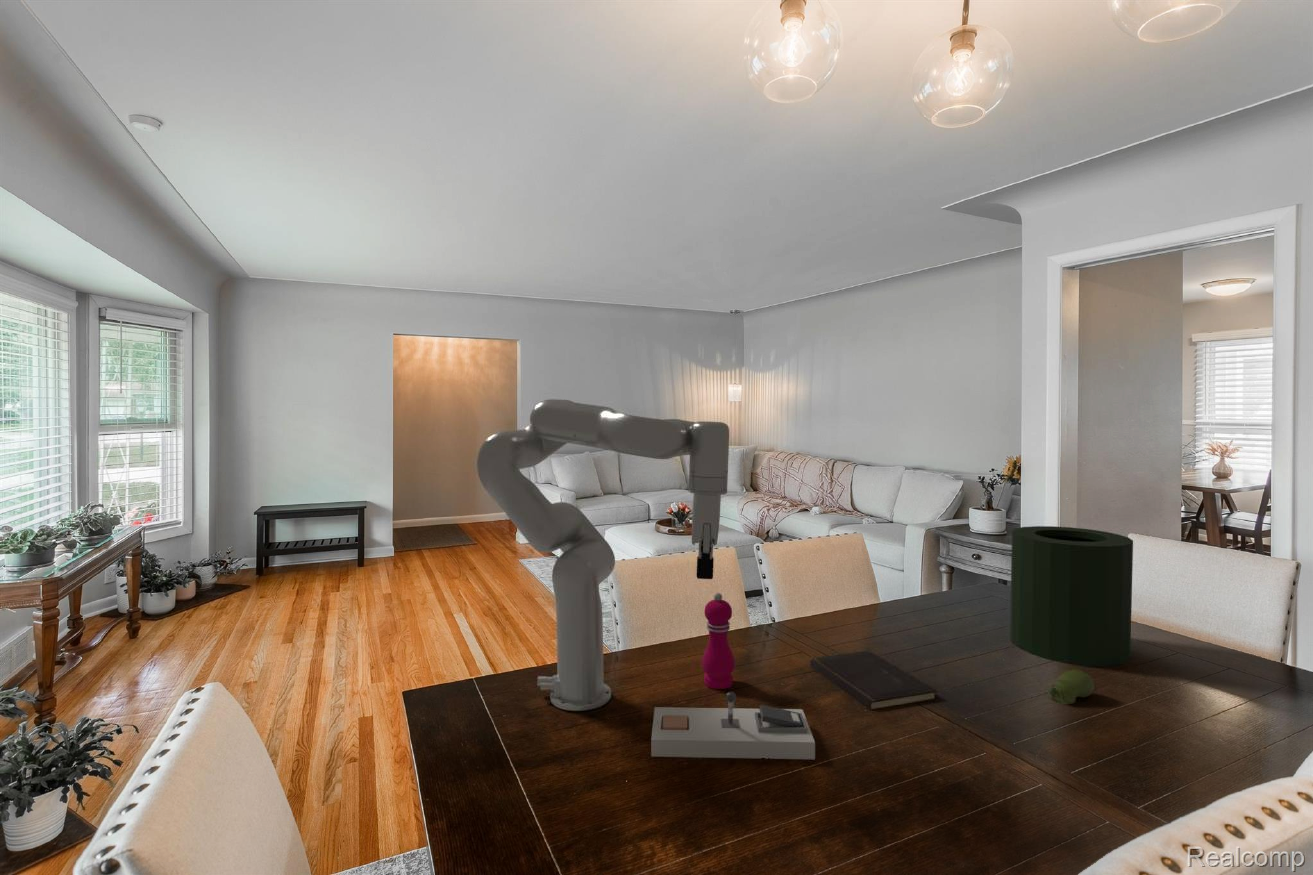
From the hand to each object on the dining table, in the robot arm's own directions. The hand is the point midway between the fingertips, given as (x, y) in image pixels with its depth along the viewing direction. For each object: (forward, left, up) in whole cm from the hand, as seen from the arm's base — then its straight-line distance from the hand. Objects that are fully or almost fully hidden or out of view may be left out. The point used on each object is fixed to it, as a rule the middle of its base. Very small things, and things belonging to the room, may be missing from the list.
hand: (704, 577), depth 125 cm
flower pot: (+91, +37, -27) cm, 102 cm away
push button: (-6, -11, -26) cm, 29 cm away
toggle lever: (+4, -11, -24) cm, 26 cm away
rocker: (+13, -11, -23) cm, 28 cm away
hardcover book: (+36, +16, -28) cm, 48 cm away
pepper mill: (+3, +13, -27) cm, 30 cm away
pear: (+75, +9, -27) cm, 81 cm away
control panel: (+4, -11, -27) cm, 29 cm away
